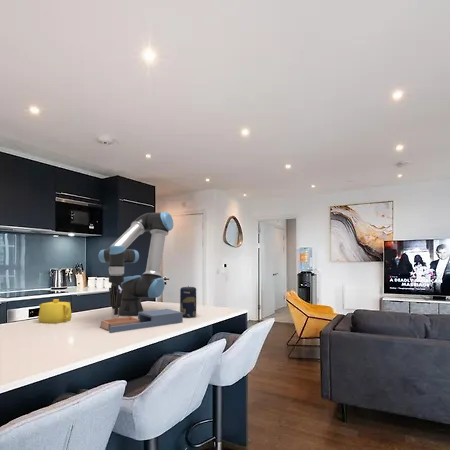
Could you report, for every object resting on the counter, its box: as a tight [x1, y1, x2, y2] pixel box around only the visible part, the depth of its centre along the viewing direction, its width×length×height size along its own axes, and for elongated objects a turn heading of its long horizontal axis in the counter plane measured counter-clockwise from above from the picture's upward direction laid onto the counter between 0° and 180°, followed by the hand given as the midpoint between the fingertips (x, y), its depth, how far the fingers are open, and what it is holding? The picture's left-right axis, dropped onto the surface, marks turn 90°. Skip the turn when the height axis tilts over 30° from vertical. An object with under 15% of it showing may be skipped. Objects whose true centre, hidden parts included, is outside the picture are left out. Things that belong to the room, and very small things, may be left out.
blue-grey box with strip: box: [108, 308, 184, 334], centre depth 179 cm, size 16×40×5 cm, turn 130°
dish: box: [100, 316, 141, 332], centre depth 174 cm, size 11×16×4 cm
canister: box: [179, 285, 197, 318], centre depth 205 cm, size 10×10×18 cm
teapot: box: [38, 298, 72, 325], centre depth 190 cm, size 20×12×12 cm, turn 70°
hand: (114, 321), depth 178 cm, fingers closed
